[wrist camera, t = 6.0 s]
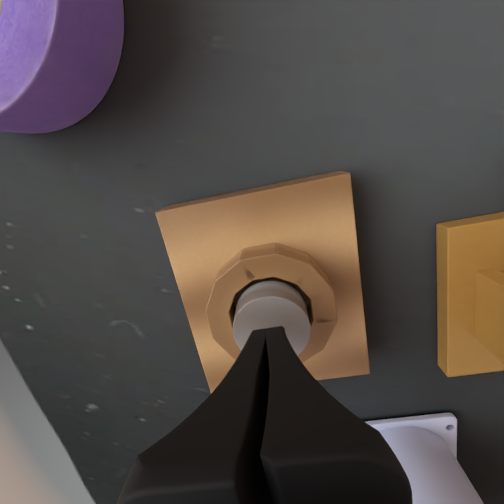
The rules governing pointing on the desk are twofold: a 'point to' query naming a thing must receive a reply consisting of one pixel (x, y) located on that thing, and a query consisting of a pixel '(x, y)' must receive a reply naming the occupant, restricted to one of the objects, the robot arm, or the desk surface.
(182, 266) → the button housing
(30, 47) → the tape roll
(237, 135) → the desk surface
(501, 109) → the desk surface
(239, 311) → the button
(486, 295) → the bracket
